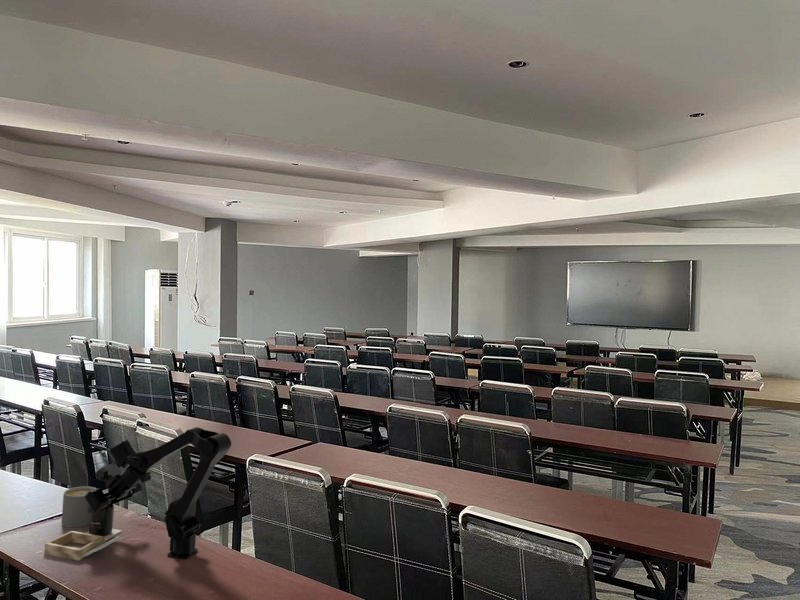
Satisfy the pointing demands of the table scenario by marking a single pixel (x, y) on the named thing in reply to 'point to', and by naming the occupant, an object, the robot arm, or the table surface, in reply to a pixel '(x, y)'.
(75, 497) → the coffee mug
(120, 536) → the frame lid
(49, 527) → the table surface
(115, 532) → the felt mat
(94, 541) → the frame
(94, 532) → the supplement bottle
